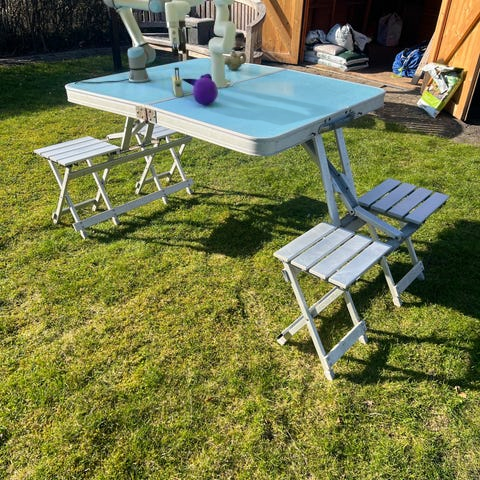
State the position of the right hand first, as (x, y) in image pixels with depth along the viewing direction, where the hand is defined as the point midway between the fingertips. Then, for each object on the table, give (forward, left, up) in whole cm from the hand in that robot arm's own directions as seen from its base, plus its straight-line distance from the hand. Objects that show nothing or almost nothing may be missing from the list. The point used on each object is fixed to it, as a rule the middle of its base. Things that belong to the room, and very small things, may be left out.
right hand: (175, 55), depth 281 cm
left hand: (-32, -45, -6) cm, 55 cm away
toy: (-1, +26, -25) cm, 36 cm away
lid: (-3, -6, -16) cm, 17 cm away
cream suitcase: (-3, -6, -25) cm, 26 cm away
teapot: (-84, -49, -25) cm, 101 cm away
